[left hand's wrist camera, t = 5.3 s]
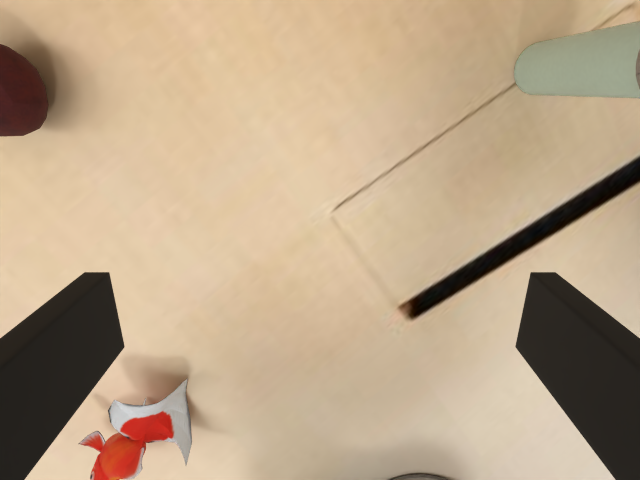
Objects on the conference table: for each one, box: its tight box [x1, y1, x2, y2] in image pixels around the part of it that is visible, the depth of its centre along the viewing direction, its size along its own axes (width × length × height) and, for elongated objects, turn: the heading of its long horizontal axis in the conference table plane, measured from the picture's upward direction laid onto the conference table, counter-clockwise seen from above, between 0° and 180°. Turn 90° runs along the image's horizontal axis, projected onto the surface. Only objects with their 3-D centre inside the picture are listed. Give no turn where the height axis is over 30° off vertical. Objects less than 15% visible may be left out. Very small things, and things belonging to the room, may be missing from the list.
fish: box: [79, 378, 192, 480], centre depth 46 cm, size 11×16×10 cm
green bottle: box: [514, 21, 640, 98], centre depth 28 cm, size 4×4×17 cm
